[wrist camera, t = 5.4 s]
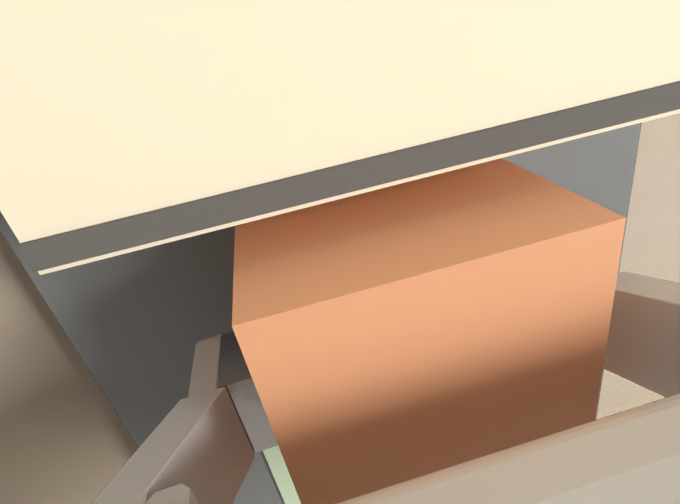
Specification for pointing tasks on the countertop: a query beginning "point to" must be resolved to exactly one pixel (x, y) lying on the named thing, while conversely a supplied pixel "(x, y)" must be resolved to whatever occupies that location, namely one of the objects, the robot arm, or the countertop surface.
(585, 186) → the ticket board
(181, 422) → the robot arm
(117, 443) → the countertop surface
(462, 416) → the stub
